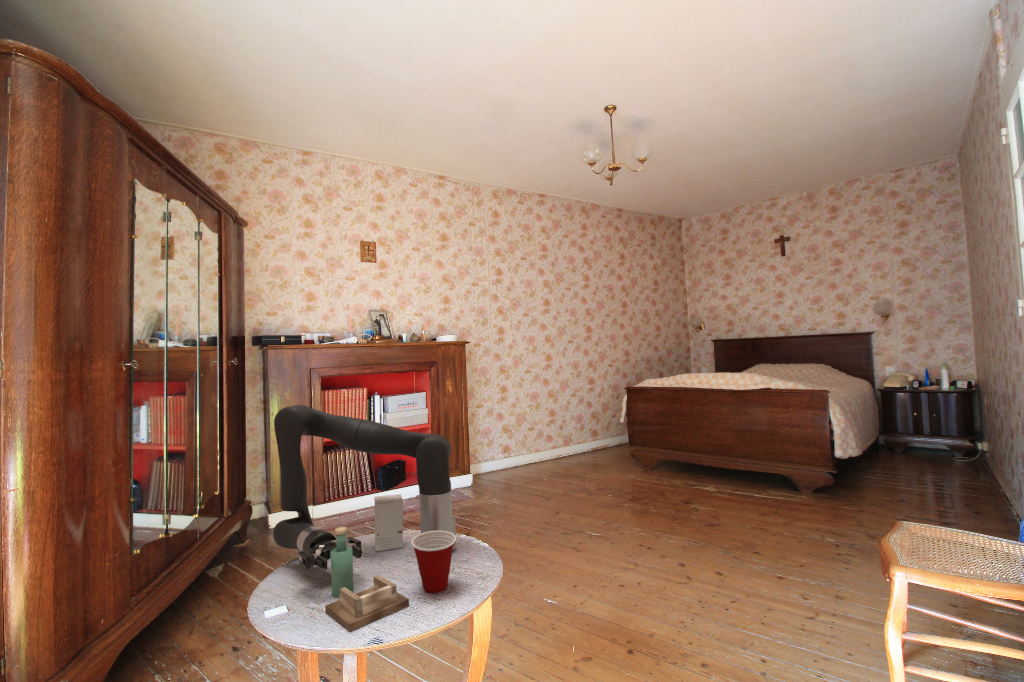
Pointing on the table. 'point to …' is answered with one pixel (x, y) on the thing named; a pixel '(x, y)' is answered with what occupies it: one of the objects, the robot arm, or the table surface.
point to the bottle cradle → (366, 604)
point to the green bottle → (341, 563)
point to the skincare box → (388, 522)
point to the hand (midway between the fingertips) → (343, 559)
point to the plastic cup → (434, 558)
